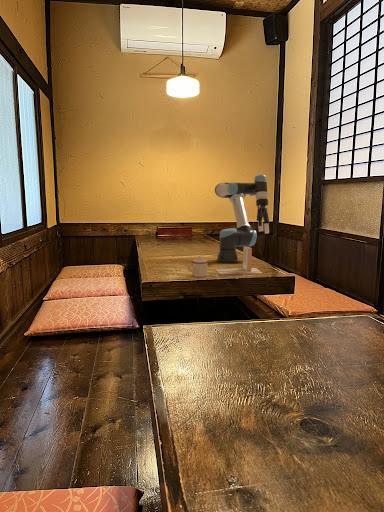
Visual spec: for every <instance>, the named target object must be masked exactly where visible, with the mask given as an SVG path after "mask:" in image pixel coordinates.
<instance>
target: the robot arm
mask: <svg viewBox="0 0 384 512" xmlns="http://www.w3.org/2000/svg"><path fill="white" fill-rule="evenodd" d="M214 194H215V195H216V196H217V197H218V198H219V197H220V198H222V199H229V202H230V203H232V208H233V212H234V217H235V221H236V226H237V228H234V227H233V228H231V227H230V228H224V229H222V230H220V232H219V250H218V251H219V252H218V254H217V258H216V262H217V263H218V262H219V263H225V264H233V263H234V264H235V263H238V262H239V257H238V253H237V247H238V248H239V247H252V246H255V244H256V242H257V239H258V238H257V236H258V235H257V231H256V230H255V229H253V227H252V225H251V224H249V219H248V215H247V214H248V213H247V211H246V207H245V202H244V200H245V197H246V195H248V196H252V197H253V196H255V201H256V202H255V205H256V207H257V212H256V222H257V223H258V224H257V225H258V232H264V234H265V235H266V234H270V225H269V224H270V222H271V221H270V218H269V213H268V208H267V207H266V206H268V205H269V199H268V195H269V193H268V180H267V176H266V175H265V174H258V175H256V176H254V182H220V183H218V184H216V186H215V187H214Z"/></svg>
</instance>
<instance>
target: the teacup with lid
mask: <svg viewBox="0 0 384 512" xmlns="http://www.w3.org/2000/svg"><path fill="white" fill-rule="evenodd" d="M191 262H192V263H191ZM191 262H190V263H188V264H187V266H186V268H187V270H188V271H189V272H190V273H191V272H192V277H195V278H206V277H207V276H208V262H209V261H208V260H207V259H205V258H203V257H202V256H201V255H199V256H198V257H196V258H195V259H192V261H191ZM191 265H192V269H190V268H189V266H191Z"/></svg>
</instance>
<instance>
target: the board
mask: <svg viewBox="0 0 384 512" xmlns="http://www.w3.org/2000/svg"><path fill="white" fill-rule="evenodd" d="M216 272H217V273H218V274H221V275H222V274H223V275H225V274H226V275H228V274H229V275H230V274H231V275H232V274H263V272H262V271H260V270H259V269H258V268H256V267H251V271H245V270H244V269H243V267H241V268H216Z"/></svg>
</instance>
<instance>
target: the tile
mask: <svg viewBox="0 0 384 512" xmlns="http://www.w3.org/2000/svg"><path fill="white" fill-rule="evenodd" d="M242 249H243V250H242V252H243V254H242V255H243V256H242V268H243V269H244V270H245V271H251V268H252V258H253V256H252V254H253V248H252V247H251V246H242Z"/></svg>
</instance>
